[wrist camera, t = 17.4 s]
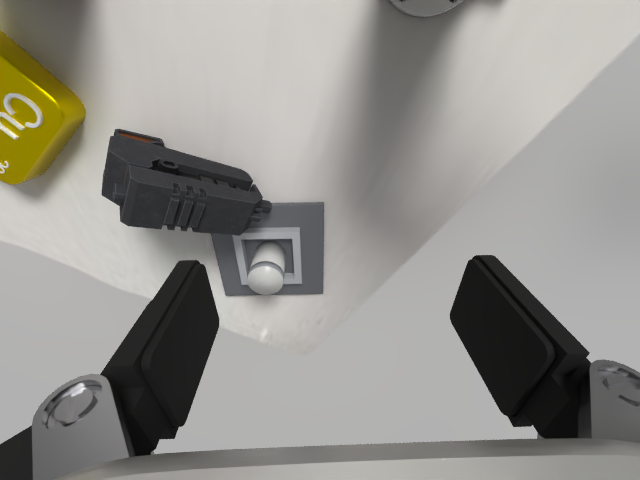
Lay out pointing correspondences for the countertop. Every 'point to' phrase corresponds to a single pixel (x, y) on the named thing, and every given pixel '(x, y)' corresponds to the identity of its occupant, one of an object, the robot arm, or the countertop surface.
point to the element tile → (32, 114)
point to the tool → (177, 188)
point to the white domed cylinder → (267, 268)
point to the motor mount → (288, 231)
